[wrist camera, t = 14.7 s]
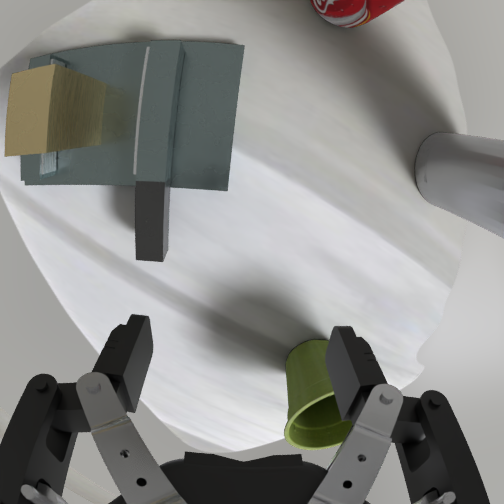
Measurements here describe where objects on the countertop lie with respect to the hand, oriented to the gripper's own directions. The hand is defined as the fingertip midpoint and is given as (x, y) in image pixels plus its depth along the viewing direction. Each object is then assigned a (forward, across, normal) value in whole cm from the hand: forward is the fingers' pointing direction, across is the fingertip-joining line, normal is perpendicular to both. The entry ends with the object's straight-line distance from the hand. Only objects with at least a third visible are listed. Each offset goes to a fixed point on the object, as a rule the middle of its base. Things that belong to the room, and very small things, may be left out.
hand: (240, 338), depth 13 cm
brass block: (+17, +16, -10) cm, 25 cm away
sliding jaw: (+17, +8, -6) cm, 19 cm away
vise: (+18, +12, -10) cm, 24 cm away
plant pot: (+19, -11, +19) cm, 29 cm away
